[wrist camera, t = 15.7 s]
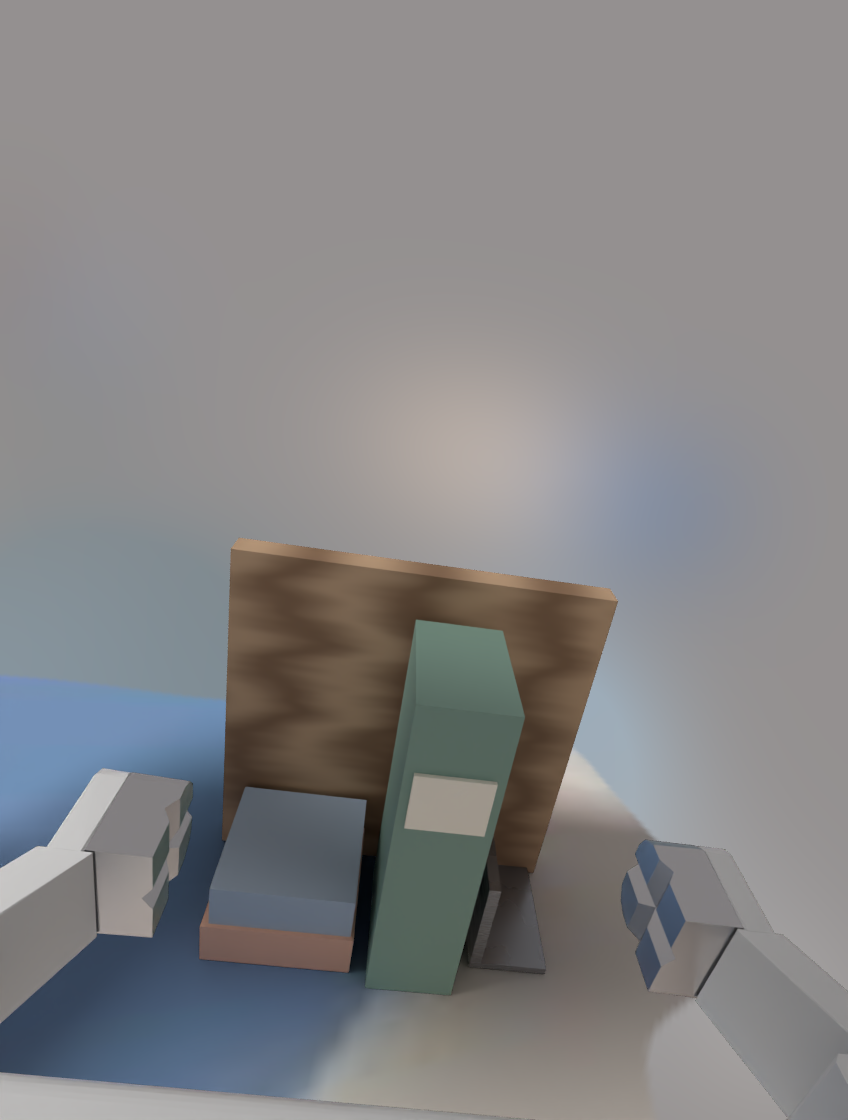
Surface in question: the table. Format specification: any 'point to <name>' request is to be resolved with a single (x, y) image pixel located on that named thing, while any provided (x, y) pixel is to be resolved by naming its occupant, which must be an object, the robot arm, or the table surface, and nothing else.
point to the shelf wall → (392, 675)
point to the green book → (441, 804)
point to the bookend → (504, 921)
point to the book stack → (287, 882)
